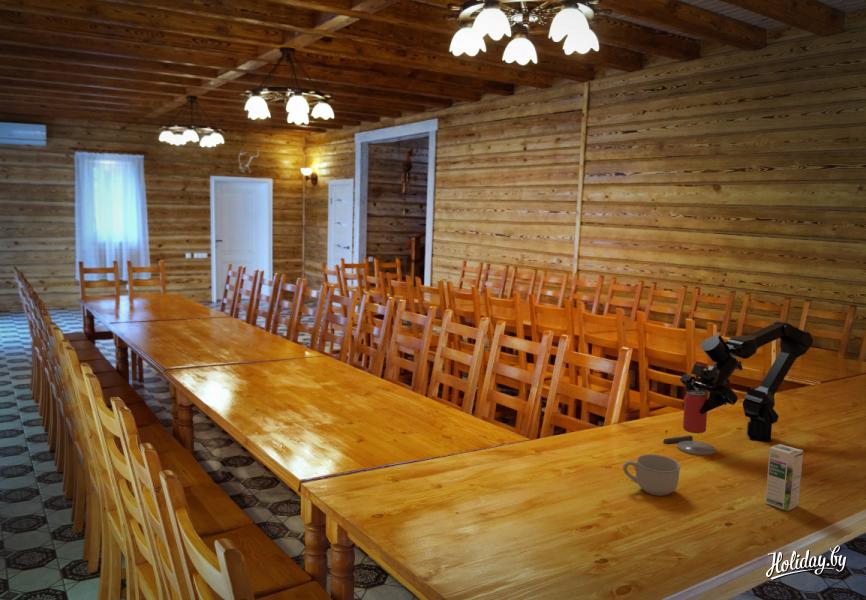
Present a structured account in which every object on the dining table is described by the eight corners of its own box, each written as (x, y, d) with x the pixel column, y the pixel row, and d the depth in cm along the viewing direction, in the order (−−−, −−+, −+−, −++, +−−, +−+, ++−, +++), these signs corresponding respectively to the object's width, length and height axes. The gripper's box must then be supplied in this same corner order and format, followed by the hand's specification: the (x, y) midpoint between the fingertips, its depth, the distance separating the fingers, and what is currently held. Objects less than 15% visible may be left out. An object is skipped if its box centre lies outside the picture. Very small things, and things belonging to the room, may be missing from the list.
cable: (689, 439, 214) (689, 434, 213) (692, 441, 212) (692, 436, 212) (662, 443, 210) (662, 438, 210) (665, 444, 208) (665, 439, 208)
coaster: (714, 445, 207) (714, 443, 207) (717, 457, 197) (717, 454, 197) (676, 441, 211) (676, 439, 211) (677, 452, 200) (677, 450, 200)
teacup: (678, 486, 175) (679, 457, 174) (679, 502, 165) (680, 471, 164) (623, 479, 180) (624, 450, 179) (621, 494, 169) (622, 464, 168)
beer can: (710, 433, 202) (712, 394, 201) (692, 434, 200) (694, 396, 199) (696, 426, 208) (698, 389, 207) (678, 428, 206) (680, 390, 205)
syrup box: (764, 503, 165) (768, 447, 163) (776, 498, 168) (780, 442, 167) (787, 512, 160) (792, 454, 159) (799, 506, 164) (804, 449, 162)
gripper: (685, 349, 211) (656, 386, 209) (732, 360, 194) (701, 401, 191) (703, 371, 215) (675, 408, 213) (750, 384, 198) (721, 424, 195)
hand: (692, 410), depth 203 cm, fingers closed on beer can, 7 cm apart
